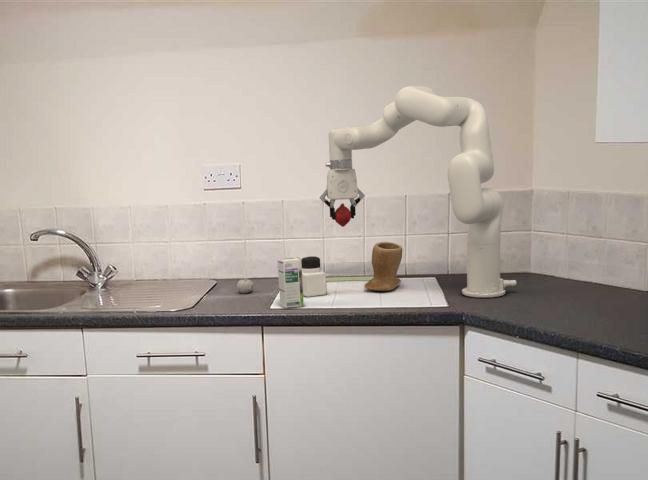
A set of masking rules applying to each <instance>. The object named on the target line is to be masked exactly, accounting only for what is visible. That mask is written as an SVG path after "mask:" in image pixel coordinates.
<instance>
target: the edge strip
mask: <svg viewBox="0 0 648 480" xmlns="http://www.w3.org/2000/svg"><path fill="white" fill-rule="evenodd" d="M373 278H374V275H370V276H368V275H367V276H365V275H363V276H331V277H330V276H329V277H327V276H326V282H357V281H370V280H371V279H373Z"/></svg>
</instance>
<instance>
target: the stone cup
mask: <svg viewBox="0 0 648 480" xmlns="http://www.w3.org/2000/svg"><path fill="white" fill-rule="evenodd" d="M402 258H403V247H402V246H401V244H398V243H395V242H390V241H380V242H377V243H375V244H374V245H373V247H372V250H371V266H372V270H373V271H372V272H373V276H374V278H373V279H371V280H368V281H367V282H366V283H365V284H364V288H365V289H366V290H369V291H377V292H378V291H379V292H380V291H381V292H387V291H392V290H393V289H395V288H397V286H398V285H399V284H400V283H401V282H402V279H400V278H399V277H397V274H398V271H399V268H400V265H401V261H402V260H403V259H402Z"/></svg>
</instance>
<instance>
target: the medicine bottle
mask: <svg viewBox="0 0 648 480" xmlns="http://www.w3.org/2000/svg"><path fill="white" fill-rule="evenodd" d="M300 259H301V264H302V284H303V297H306V298H311V297H317V296H324V295H325V296H326V295H327V292H328V291H327V289H328V288H327V281H326V277H327V273H326V272H325V271H322V270H321V269H322V268H321V258H320V257H319V256H313V255H312V256H311V255H310V256H303V257H302V258H300Z"/></svg>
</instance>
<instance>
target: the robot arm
mask: <svg viewBox="0 0 648 480" xmlns="http://www.w3.org/2000/svg"><path fill="white" fill-rule="evenodd" d="M488 119H489V118H488V115H487V111H486V109H485V107H484V106H483V105H482V104H481V103H480V102H479V101H477V100H475V99H473V98H471V97H466V96H455V95H453V96H440V95H437V94H436V93H435V91H434V90H433V89H432V88H431V87H429V86H425V85H408V86H405V87H403V88H401V89H400V90H399V91H398V92H397V94H396V96H395V98H394V101H392V102H391V103H389V104H387V105H385V106H384V108H383V109H382V117H381V118H380V119H378V120H377V121H375V122H373V123H371V124H369V125H356V126H354V125H353V126H349V127H336V128H331V129H329V131H328V148H329V149H328V156H329V161H328V162H325V167H326V168H329V169H328V170H327V175H326V189H325V191H323V192H322V194H321V195H320V196H319V200H320V201H322V202H323V203H324V204H325V205H326V206H327V207H328V208H329V217H330V218H331V220H332V221H335V211H336V208H335V206H334V205H335V203H336V201H338V200H340V201H341V200H349V203H350V206H349V210H350V212H351V219H355V217H356V206H357V205H358V204H359V203H360V202H361V201H362V200H363V199H364V198H365V196H366V195H365V194H364V192H362V190H361V189H360V188H358V180H357V173H356V169H355V168H353V151H358V150H368V149H369V150H370V149H374V148H377V147H378V146H380V145H382V144H384V143H385V142H387V141H389V140H391V139H392V138H393V137H394V136H395V135H396V134H397V133H398V132H399V131H400V130H402V129H403V128H405V127H407V126H409V125H411V124H412V123H413V122H415V121H419V122H422V123H424V124H427V125H430V126H433V127H440V128H445V127H460V132H459V146H460V153H459V154H457V155H456V156H454V157H452V159H451V161H450V162H449V164H448V168H447V179H448V180H447V181H448V187H449V195H450V202H451V207H452V211H453V214H454V217H455V218H456V219H457V220H458V221H459V222H460V223H462V224H465V225H467V232H466V234H467V235H466V287H464V288H462V289H461V295H463V296H466V297H471V298H480V299H481V298H484V299H485V298H498V297H502V296H505V294H506V288H507V287H509V288H510V287H517V280H516V279H510V280H509V279H504V278H503V277H502V278H501V235H502V234H501V233H502V232H501V231H502V221H503V214H504V200H503V198H502V195H501V194H500V193H499V192H498V191H497V190H496V189H493V188H490V187H482V184H484V183H487V182H489V181H490V180H491V179H492V178H493V177H494V173H495V164H494V158H493V157H494V156H493V150H492V149H493V148H492V143H491V138H490V129H489V120H488ZM326 197H327V198H328V199H329V200H328V199H327V198H326Z"/></svg>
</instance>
